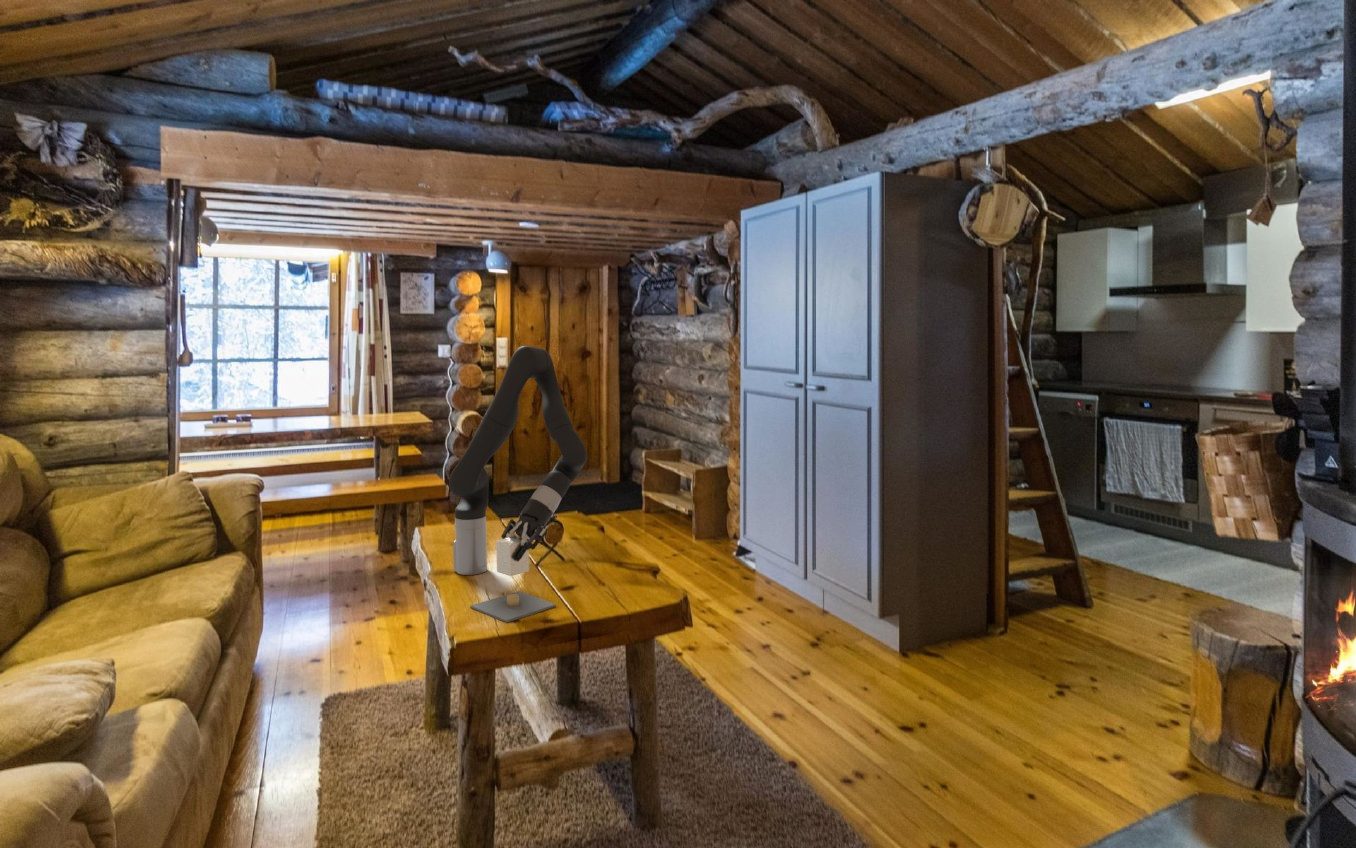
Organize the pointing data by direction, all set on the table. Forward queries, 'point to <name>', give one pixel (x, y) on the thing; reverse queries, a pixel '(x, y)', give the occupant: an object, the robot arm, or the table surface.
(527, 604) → the mat
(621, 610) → the table surface
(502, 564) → the block
